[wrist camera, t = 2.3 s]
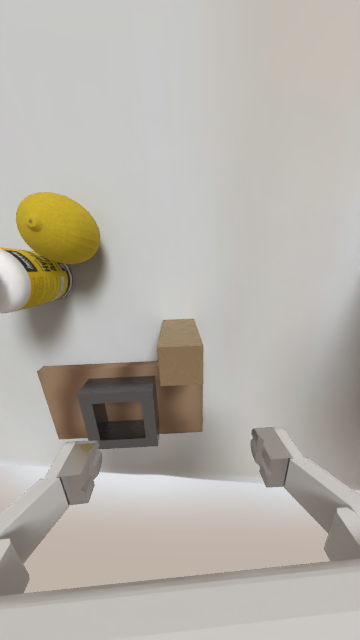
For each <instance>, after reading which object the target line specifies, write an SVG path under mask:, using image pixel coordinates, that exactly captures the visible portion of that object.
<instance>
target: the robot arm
mask: <svg viewBox="0 0 360 640" xmlns="http://www.w3.org/2000/svg"><path fill="white" fill-rule="evenodd" d="M251 434H252V436H253V439H252V440H251V444H250V446H251V452H252V455H253V458H254V460H255V462H256V463H257V464H258V465H259V466H260V471H259V472H260V474H261V476H262V478H263V481H264V483H265V485H266V487H283V486H284V488H285V489H286V490H287V491H288V492H289V493H290V494H291V495H292V496H293V497H294V498H295V499H296V500H297V501H298V502H299V503H300V505H301V506H303V507H304V509H305V510H306V511H307V512H308V513H309V514H310V515H311V516H312V517H313V518H314V519H315V520H316V521H317V522H318V523H319V524H320V525H321V526H322V527H323V528H324V529H325V530H326V531H327V532H328V537H327V540H326V543H325V547H324V550H325V552H326V554H327V556H328V557H329V559H330V562H320V563H311V564H301V565H291V566H282V567H272V568H262V569H253V570H243V571H234V572H225V573H215V574H205V575H195V576H186V577H176V578H167V579H157V580H148V581H138V582H128V583H119V584H109V585H100V586H91V587H81V588H71V589H62V590H52V591H42V592H33V593H24V591H25V589H26V586H27V584H28V582H29V574H28V572H27V570H26V568H25V566H24V565H23V563H24V562H25V561H26V560H27V558H28V557H29V556H30V555H31V554H32V552H33V551H34V550H35V549H36V547H37V546H38V545H39V544H40V542H41V541H42V540H43V539H44V537H45V536H46V535H47V533H48V532H49V531H50V530H51V528H52V527H53V526H54V525H55V524H56V522H57V521H58V520H59V519H60V517H61V516H62V515H63V514H64V512H65V511H66V510H67V508H68V507H69V505H74V504H83V503H88V502H89V499H90V496H91V494H92V491H93V488H94V481H93V480H94V479H95V478H96V476H97V475H98V474H99V471H100V468H101V463H102V454H101V451H100V450H98V448H99V446H100V445H99V441H76V442H67V443H66V444H65V445H64V446H63V448H62V449H61V451H60V453H59V454H58V456H57V458H56V459H55V461H54V463H53V464H52V466H51V468H50V469H49V471H48V473H47V474H46V476H45V478H44V479H40V480H39V481H38V482H36V483H35V484H34V485H33V486H32V487H31V488H30V489H28V490H27V491H26V492H25V493H24V494H23V495H21V496H20V497H19V498H18V499H17V500H16V501H14V502H13V503H12V504H11V505H10V506H8V507H7V508H6V509H5V510H4V511H3V512H2V513H0V640H360V495H359V494H358V493H357V492H355V491H354V490H352V489H351V488H349V487H348V486H347V485H345V484H344V483H342V482H341V481H340V480H338V479H337V478H335V477H334V476H332V475H331V474H330V473H328V472H327V471H325V470H324V469H323V468H321V467H320V466H318V465H317V464H315V463H314V462H313V461H311V460H310V459H308V458H307V457H306V458H304V457H303V456H302V454H301V453H300V451H299V450H298V449H297V447H296V446H295V444H294V443H293V442H292V440H291V439H290V437H289V436H288V435H287V433H286V432H285V430H284V429H283V428H282V427H266V428H255V429H252V433H251Z"/></svg>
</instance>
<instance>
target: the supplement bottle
mask: <svg viewBox="0 0 360 640" xmlns="http://www.w3.org/2000/svg"><path fill="white" fill-rule="evenodd" d="M71 286H72V276H71V272H70V270H69V268H68V267H67V265H66V264H65V263H59V262H56V261H53V260H50V259H47V258H45V257H43V256H42V255H40V254H38V253H37V252H35V251H26V250H17V249H8V248H0V313H9V312H13V311H18V310H21V309H25V308H29V307H32V306H36V305H40V304H43V303H47V302H51V301H54V300H58V299H60V298H63V297H64V296H66V295H67V294H68V292H69V291H70V289H71Z"/></svg>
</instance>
